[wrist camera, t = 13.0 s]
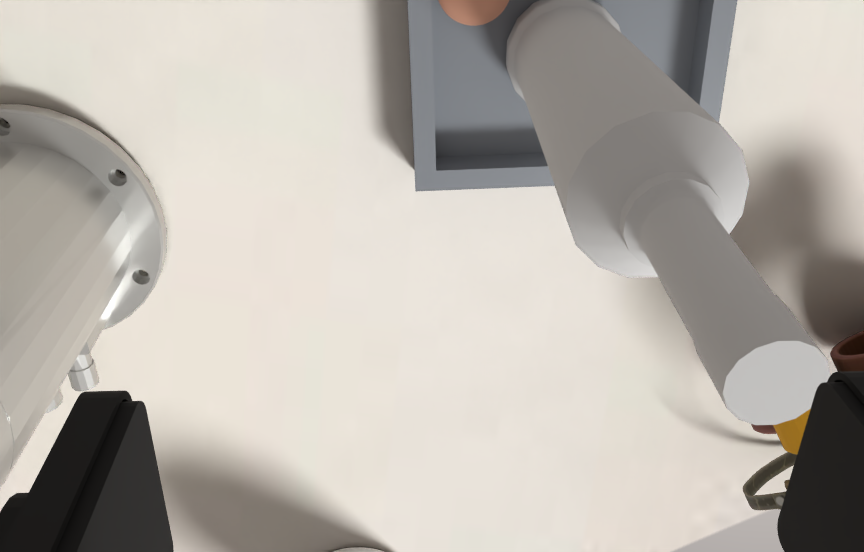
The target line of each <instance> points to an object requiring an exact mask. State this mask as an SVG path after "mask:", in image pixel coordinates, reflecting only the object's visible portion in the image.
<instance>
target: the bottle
mask: <svg viewBox="0 0 864 552" xmlns="http://www.w3.org/2000/svg"><path fill="white" fill-rule="evenodd" d="M506 67H507V70H508V73H509V76H510V78H511V81H512V84H513V87H514V89H515V91H516V92H517V93H518V94H519V95H520V96H521V97H522V98H523V99H524V100H525V102H526V105H527V107H528V110H529V113H530V116H531V119H532V122H533V125H534V127H535V130H536V133H537V136H538V139H539V142H540V145H541V148H542V150H543V153H544V156H545V159H546V162H547V165H548V168H549V170H550V173H551V176H552V179H553V182H554V185H555V188H556V190H557V193H558V196H559V199H560V202H561V205H562V208H563V211H564V213H565V216H566V219H567V222H568V225H569V227H570V230H571V233H572V236H573V238H574V241H575V244H576V246H577V247H578V248H579V249H580V250H581V251H582V252H583V253H584V254H586V255H587V256H588V257H589V258H590V259H591V260H592V261H593V262H594V263H595V264H596V265H597V266H598V267H601V268H603V269H606V270H609V271H611V272H614V273H617V274H619V275H622V276H625V277H628V278H634V277H659V279H660V281H661V283H662V284H663V286H664V288H665V290H666V292H667V293H668V295H669V297H670V299H671V301H672V303H673V304H674V306H675V308H676V310H677V312H678V313H679V315H680V317H681V319H682V321H683V323H684V324H685V326H686V328H687V330H688V332H689V333H690V335H691V337H692V339H693V341H694V344H695V347H696V351H697V354H698V355H699V357H700V359H701V361H702V363H703V365H704V367H705V368H706V370H707V372H708V374H709V376H710V378H711V380H712V381H713V383H714V385H715V387H716V389H717V391H718V393H719V394H720V396H721V398H722V400H723V402H724V404H725V406H726V407H727V409H728V410H729V411H730V412H731V413H732V414H733V415H734V416H735V417H737V418H738V419H739V420H742V421H745V422H748V423H751V424H754V425H777V424H780V423H783V422H786V421H789V420H792V419H796V418H797V417H799V416H800V415H802V414H803V413H805V412H806V411H808V410H809V409H811V406H812V403H813V399H814V396H815V392H816V390H817V387H818V386H819V385H820V384H821V383H824V382H827V381H828V379H829V377H830V370H829V365H828V360H827V358H826V357H825V356H824V354H823V353H822V352H821V350H820V349H819V348H818V347H817V345H816V344H815V343H814V341H813V340H812V339H811V337H810V336H809V335H808V333H807V332H806V331H805V330H804V328H803V327H802V326H801V324H800V323H799V322H798V320H797V319H796V318H795V316H794V315H793V314H792V313H791V311H790V310H789V309H788V307H787V306H786V305H785V304H784V303H783V302H782V301H781V300H780V299H779V297H778V296H777V295H774V293H773V292H772V291H771V289H770V288H769V287H768V285H767V284H766V283H765V281H764V280H763V279H762V277H761V276H760V275H759V273H758V272H757V271H756V269H755V268H754V267H753V265H752V264H751V263H750V261H749V260H748V259H747V257H746V256H745V255H744V253H743V252H742V251H741V249H740V248H739V247H738V245H737V244H736V243H735V241H734V240H733V239H732V237H731V236H730V235H729V234H730V233H731V231H732V230H733V228H734V227H735V225H736V224H737V222H738V221H739V219H740V218H741V216H742V215H743V210H744V206H745V201H746V196H747V192H748V187H749V182H750V181H749V177H748V173H747V168H746V164H745V159H744V155H743V151H742V149H741V148H740V147H739V146H738V145H737V143H736V142H735V141H734V140H733V139H732V137H731V136H730V135H729V134H728V133H727V132H726V130H725V129H724V128H723V127H722V126H721V125H720V124H719V123H718V122H717V121H716V120H715V119H714V118H713V117H712V116H711V115H709V114H708V113H707V112H706V111H705V110H704V109H703V108H702V107H701V106H700V105H699V104H698V103H696V102H695V101H694V100H693V99H692V98H691V97H690V96H689V95H688V94H687V93H686V92H684V91H683V90H682V89H681V88H680V87H679V86H678V85H677V84H676V83H675V82H674V81H673V80H671V79H670V78H669V77H668V76H667V75H666V74H665V73H664V72H663V71H662V70H661V69H660V68H658V67H657V66H656V65H655V64H654V63H653V62H652V61H651V60H650V59H649V58H648V57H646V56H645V55H644V54H643V53H642V52H641V51H640V50H639V49H638V48H637V47H636V46H635V45H633V44H632V43H631V42H630V41H629V40H628V39H627V38H626V37H625V36H624V35H623V34H622V33H621V31H620V27H619V24H618V23H617V22H616V21H615V20H614V19H613V17H612V16H611V15H610V14H609V13H608V12H607V10H606V9H605V8H604V7H603V6H602V5H600V4H599V3H596V2H594V1H592V0H539V1H537V2H534V3H533V4H532V5H531V6H530V7H529V8H528V9H527V10H526V11H525V12H523V13H522V14H521V15H520V16H519V17H518V18H517V20H516V22H515V24H514V26H513V28H512V31H511V33H510V35H509V37H508V39H507V52H506Z"/></svg>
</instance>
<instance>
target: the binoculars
mask: <svg viewBox="0 0 864 552" xmlns="http://www.w3.org/2000/svg"><path fill="white" fill-rule="evenodd" d="M830 355H831V358H832V360H833V362H834V364H835V366H836V369H837V371H838V372H844V371H864V331H862V332H859V333H857V334H855V335H852V336H850V337H848V338H846V339H845V340H843V341H841V342H840V343H839V344H837V345H836V346H835V347H834V348H833V349H832V351H831V353H830ZM809 413H810V409H809V410H808V411H806V412H805V413H803V414H802V415H800V416H799V417H797V418H796V419H792V420H789V421H786V422H783V423H780V424H777V425H754V424H751V425H752V427H753V429H754V430H755V431H757V432H760V433H763V434H776V433H777V435H778V437H779V439H780V441H781V443H782V445H783V447H784V449H785V450H786V451H787V453H785V454H783V455H781V456H780V457H778V458H776V459H775V460H773V461H771V462H770V463H768V464H767V465H765V466H764V467H762V468H761V469H760V470H758V471H757V472H756V473H755V474H754V475H753V476H752V477H751V478H750V479H749V480H748V481H747V482H746V483H745V484H744V486H743V492H744V494H745V496H746V498H747V501H748V503H749V505H750V506H751V508H752V509H754V510H770V509H781V508H782V505H783V501H784V498H785V494H786V492H781V493H774V494H766V495H755V496H753V495H754V494H755V493H756V492H757V491H758V490H759V489H760V488H761V487H762V486H763V485H764V484H765V483H766V482H768V481H769V480H770V479H772V478H773V477H775V476H776V475H778V474H779V473H781V472H782V471H784V470H786V469H787V468H789V467H791V466H793V465H794V464H795V460H796V457H797V454H798V450H799V447H800V443H801V440H802V437H803V433H804V430H805V426H806V423H807V420H808V416H809ZM789 481H790V480H786V481H785V482H784V483H785V487H786V489H787V488H788V484H789Z"/></svg>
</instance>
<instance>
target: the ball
mask: <svg viewBox="0 0 864 552" xmlns="http://www.w3.org/2000/svg"><path fill="white" fill-rule="evenodd" d="M438 1H439V3H440V5H441V7H442V9H443V10H444V11H445V13H446V14H447V15H448V16H449V17H451V18H452V19H453V20H455V21H457V22H459V23H461V24H464V25H470V26H477V25H483V24H486V23H488V22H490V21H492V20H494V19H495V18H497V17H498V16H499V15H500V14H501V13H502V12H503V11H504V9H505V8H506V6H507V4H508V2H509V0H438Z"/></svg>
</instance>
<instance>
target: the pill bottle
mask: <svg viewBox="0 0 864 552" xmlns="http://www.w3.org/2000/svg"><path fill="white" fill-rule="evenodd" d="M333 552H384V551H381V550H377V549H373V548H365V547H352V548H344V549H339V550H336V551H333Z"/></svg>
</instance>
